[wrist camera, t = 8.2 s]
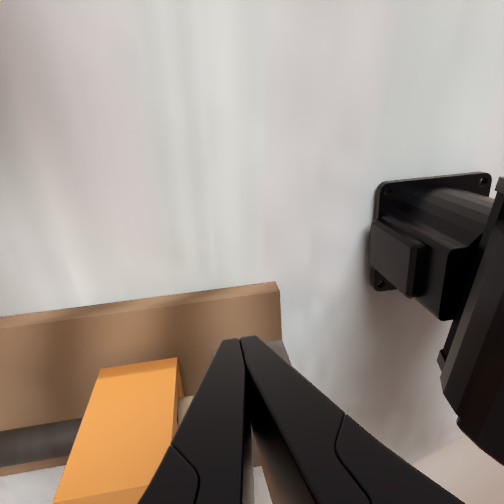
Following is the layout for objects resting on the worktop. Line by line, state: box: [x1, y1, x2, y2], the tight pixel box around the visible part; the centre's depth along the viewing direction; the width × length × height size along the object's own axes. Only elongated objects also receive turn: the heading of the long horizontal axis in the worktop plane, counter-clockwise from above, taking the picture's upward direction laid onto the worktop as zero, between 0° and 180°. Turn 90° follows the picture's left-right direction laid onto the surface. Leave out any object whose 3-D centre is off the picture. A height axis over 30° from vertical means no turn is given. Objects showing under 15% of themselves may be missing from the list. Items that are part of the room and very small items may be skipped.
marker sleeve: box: [53, 357, 184, 504], centre depth 17 cm, size 4×4×7 cm
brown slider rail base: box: [0, 282, 292, 476], centre depth 18 cm, size 24×10×6 cm, turn 94°
